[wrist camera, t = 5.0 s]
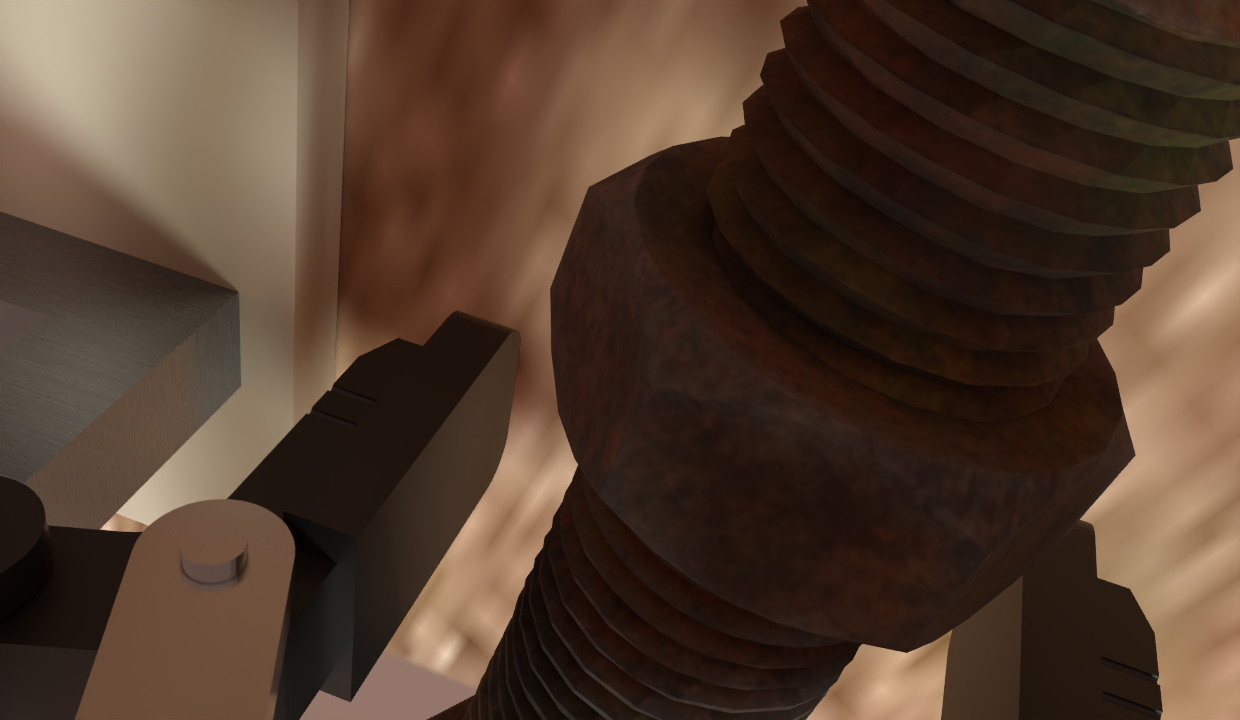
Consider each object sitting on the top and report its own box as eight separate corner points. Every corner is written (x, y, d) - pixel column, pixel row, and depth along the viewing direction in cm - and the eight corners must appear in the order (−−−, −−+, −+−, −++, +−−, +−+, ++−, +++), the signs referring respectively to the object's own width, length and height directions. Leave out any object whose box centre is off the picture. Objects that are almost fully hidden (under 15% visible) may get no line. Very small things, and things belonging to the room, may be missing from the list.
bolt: (1192, -187, 10) (622, 737, 19) (676, -399, 8) (313, 732, 17) (1828, 159, 6) (708, 1145, 14) (1047, -131, 4) (307, 1196, 13)
